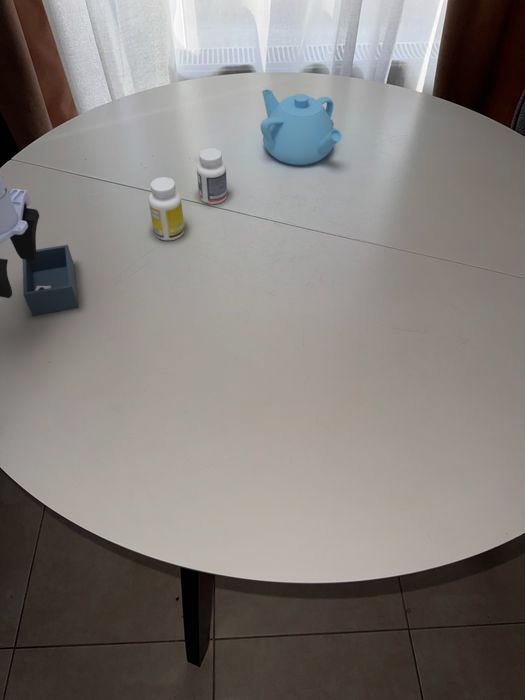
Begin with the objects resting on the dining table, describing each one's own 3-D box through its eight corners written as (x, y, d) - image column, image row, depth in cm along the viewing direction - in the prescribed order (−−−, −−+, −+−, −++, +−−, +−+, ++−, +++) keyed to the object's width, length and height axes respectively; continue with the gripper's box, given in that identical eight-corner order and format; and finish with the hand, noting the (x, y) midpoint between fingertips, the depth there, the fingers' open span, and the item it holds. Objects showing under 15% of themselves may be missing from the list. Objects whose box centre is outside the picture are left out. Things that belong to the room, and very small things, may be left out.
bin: (78, 307, 90) (71, 286, 87) (32, 315, 89) (23, 294, 85) (74, 265, 96) (67, 244, 93) (30, 272, 95) (22, 251, 92)
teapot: (259, 173, 114) (260, 119, 106) (261, 127, 125) (262, 75, 117) (337, 175, 114) (344, 121, 106) (332, 130, 125) (338, 78, 117)
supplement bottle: (187, 223, 104) (182, 175, 96) (181, 242, 100) (175, 194, 93) (157, 221, 104) (150, 173, 97) (150, 240, 101) (142, 192, 93)
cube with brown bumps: (37, 306, 89) (33, 294, 88) (40, 296, 91) (36, 284, 89) (51, 305, 90) (47, 293, 88) (54, 296, 91) (50, 284, 89)
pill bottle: (232, 193, 110) (231, 151, 103) (217, 208, 107) (215, 165, 100) (209, 185, 112) (206, 142, 105) (193, 199, 109) (189, 156, 102)
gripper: (-16, 234, 65) (20, 317, 75) (39, 163, 74) (65, 246, 84) (-75, 226, 65) (-30, 310, 76) (-13, 157, 75) (19, 240, 85)
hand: (16, 276), depth 80 cm, fingers open, 7 cm apart
